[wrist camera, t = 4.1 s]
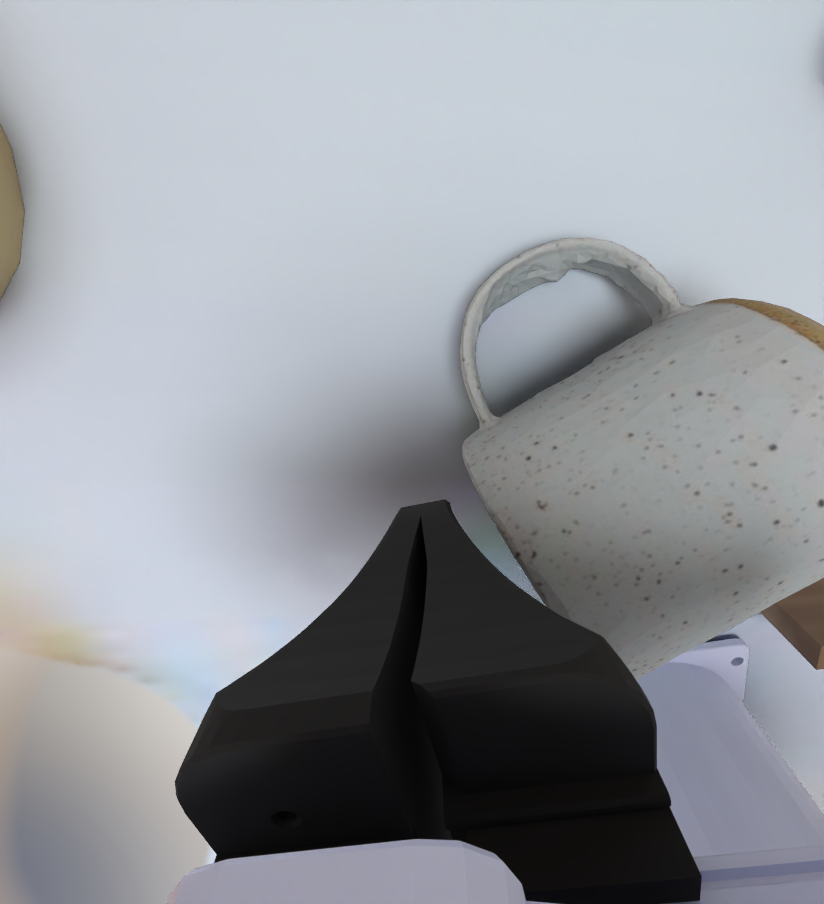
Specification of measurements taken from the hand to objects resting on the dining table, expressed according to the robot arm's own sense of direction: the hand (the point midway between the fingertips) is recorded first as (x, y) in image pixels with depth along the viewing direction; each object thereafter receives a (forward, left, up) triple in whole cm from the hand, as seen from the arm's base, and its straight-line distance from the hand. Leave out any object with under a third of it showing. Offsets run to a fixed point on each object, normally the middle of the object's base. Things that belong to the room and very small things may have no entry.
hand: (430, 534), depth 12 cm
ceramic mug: (+1, -5, -5) cm, 7 cm away
